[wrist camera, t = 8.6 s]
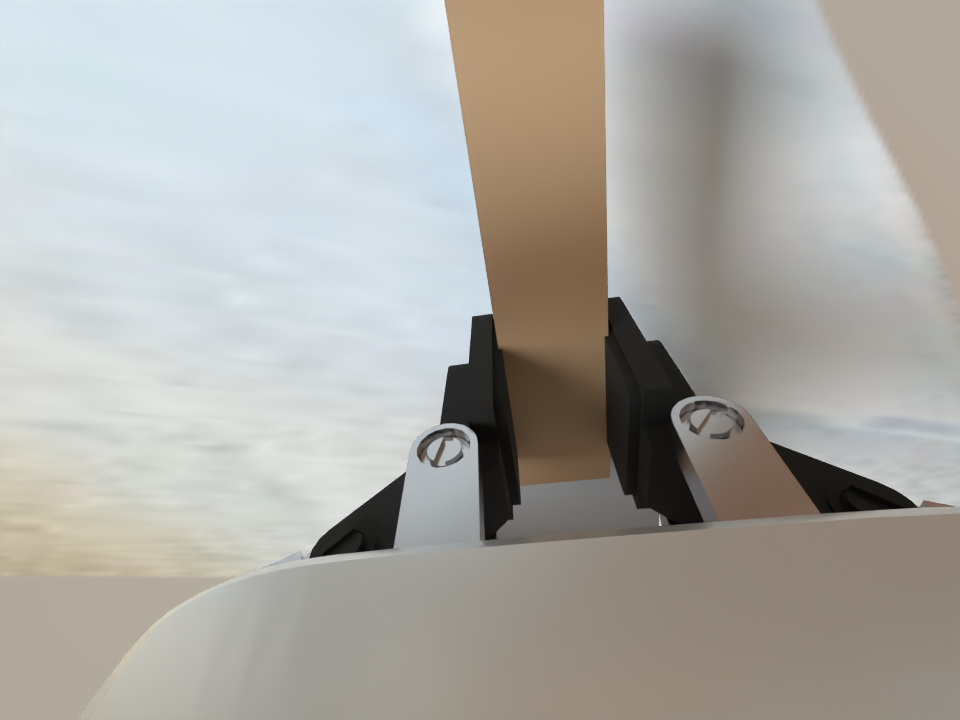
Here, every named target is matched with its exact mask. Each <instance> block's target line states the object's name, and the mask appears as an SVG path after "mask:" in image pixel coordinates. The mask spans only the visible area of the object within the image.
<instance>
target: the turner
mask: <svg viewBox="0 0 960 720" xmlns="http://www.w3.org/2000/svg"><path fill="white" fill-rule="evenodd" d="M445 7H446V13H447V20H448V26H449V33H450V39H451V46H452V52H453V59H454V65H455V71H456V78H457V84H458V91H459V97H460V104H461V110H462V117H463V123H464V130H465V136H466V143H467V149H468V155H469V162H470V168H471V175H472V181H473V188H474V194H475V201H476V207H477V214H478V220H479V227H480V233H481V239H482V246H483V252H484V259H485V265H486V272H487V278H488V285H489V291H490V298H491V304H492V311H493V317H494V323H495V330H496V336H497V343H498V349H499V350H500V349H502V353H503V360H504V366H505V373H506V380H507V386H508V393H509V399H510V406H511V412H512V419H513V426H514V432H515V439H516V445H517V453H518V466H519V480H520V493H521V505H513V517H514V520H508V521H507V522H506V523H505V524H504V525H503V526H502V527H501V528H500V529H499V530H498V535H499V539H507V538H519V537H531V536H543V535H555V534H567V533H580V532H592V531H604V530H617V529H629V528H642V527H654V526H659V513H658V512H656V511H654V510H652V509H650V508H646V509H637V508H636V505H635V502H634V499H633V496H632V495H624V493H623V490H622V487H621V484H620V481H619V478H618V475H617V472H616V469H615V466H614V463H613V459H612V456H611V453H610V450H609V447H608V444H607V429H606V381H605V336H608V276H607V207H606V139H605V70H604V1H603V0H445Z"/></svg>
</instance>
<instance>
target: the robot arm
mask: <svg viewBox="0 0 960 720" xmlns="http://www.w3.org/2000/svg"><path fill="white" fill-rule="evenodd" d="M605 381H606V429H607V444H608V447H609V450H610V453H611V456H612V459H613V463H614V466H615V469H616V472H617V475H618V478H619V481H620V484H621V487H622V490H623V493H624V495H632V496H633V499H634V502H635V505H636V508H637V509H646V508H650V509H652V510H654V511H656V512H658V513H659V514H660V519H661V525H662V526H654V527H642V528H629V529H617V530H604V531H592V532H580V533H567V534H555V535H543V536H531V537H519V538H507V539H499V535H498V530H499V529H500V528H501V527H502V526H503V525H504V524H505V523H506V522H507V521H508V520H514V517H513V505H521V493H520V480H519V466H518V453H517V445H516V439H515V432H514V426H513V419H512V412H511V406H510V399H509V393H508V386H507V380H506V373H505V366H504V360H503V353H502V349H500V350H499V349H498V343H497V336H496V330H495V323H494V319H493V315H492V314H488V315H481V316H473V317H472V328H471V341H470V355H469V364H461V365H453V366H449V368H448V373H447V380H446V387H445V394H444V401H443V408H442V415H441V422H440V425H438V426H434V427H432V428H430V429H428V430H426V431H425V432H423V433H422V434H421V435H419V436H418V437H417V438H416V440H415V441H414V442H413V443H412V446H411V449H410V452H409V458H408V464H407V470H406V472H405V473H404V474H402V475H401V476H400V477H398V478H397V479H396V480H395V481H393V482H392V483H391V484H389V485H388V486H387V487H385V488H384V489H383V490H381V491H380V492H379V493H377V494H376V495H375V496H373V497H372V498H371V499H370V500H368V501H367V502H366V503H364V504H363V505H362V506H360V507H359V508H358V509H356V510H355V511H354V512H352V513H351V514H350V515H348V516H347V517H346V518H345V519H343V520H342V521H341V522H339V523H338V524H337V525H335V526H334V527H333V528H331V529H330V530H329V531H328V532H327V533H326V534H324V535H323V536H322V537H321V538H320V539H319V541H318V542H317V543H316V545H315V546H314V548H313V549H312V552H311V553H309V554H307V555H305V556H303V555H302V553H301V552H300V551H299V552H297V553H295V554H293V555H291V556H288V557H286V558H284V559H282V560H279V561H277V562H275V563H273V564H271V565H268V566H266V567H264V568H262V569H259V570H256V571H253V572H250V573H247V574H243V575H240V576H237V577H235V578H232V579H230V580H228V581H226V582H223V583H221V584H219V585H216V586H214V587H212V588H209V589H207V590H205V591H203V592H201V593H199V594H197V595H195V596H193V597H192V598H190V599H188V600H186V601H185V602H183V603H181V604H180V605H178V606H177V607H175V608H173V609H172V610H170V611H169V612H168V613H166V614H165V615H164V616H163V617H161V618H160V619H159V620H158V621H156V622H155V623H154V624H153V625H152V626H151V627H150V628H149V629H148V630H147V631H146V632H145V633H144V634H143V635H142V636H141V637H140V638H139V640H138V641H137V642H136V643H135V644H134V646H133V647H132V648H131V649H130V650H129V651H128V652H127V654H126V655H125V656H124V657H123V659H122V660H121V661H120V662H119V664H118V665H117V666H116V668H115V669H114V670H113V671H112V673H111V674H110V676H109V677H108V679H107V680H106V681H105V683H104V684H103V685H102V687H101V688H100V689H99V691H98V692H97V694H96V695H95V697H94V698H93V699H92V701H91V702H90V703H89V705H88V706H87V707H86V709H85V711H84V712H83V713H82V715H81V716H80V718H79V719H78V720H960V507H955V506H950V505H945V504H940V503H935V502H930V501H925V500H924V501H923V502H922V504H921V506H920V507H919V506H916V505H915V504H914V503H913V502H912V501H911V500H909V499H908V498H906V497H905V496H903V495H902V494H900V493H899V492H897V491H896V490H894V489H891V488H889V487H887V486H885V485H883V484H881V483H878V482H876V481H873V480H870V479H868V478H865V477H862V476H860V475H857V474H854V473H852V472H849V471H846V470H844V469H841V468H838V467H836V466H833V465H830V464H828V463H825V462H823V461H820V460H817V459H815V458H812V457H809V456H807V455H804V454H801V453H799V452H796V451H793V450H791V449H788V448H785V447H783V446H780V445H777V444H775V443H772V442H769V440H768V439H767V438H766V436H765V435H764V433H763V432H762V431H761V429H760V428H759V426H758V425H757V423H756V422H755V421H754V419H753V418H752V416H751V415H750V414H749V413H748V412H747V411H746V410H745V409H744V408H742V407H741V406H739V405H737V404H736V403H734V402H731V401H728V400H726V399H723V398H718V397H713V396H696V395H695V394H694V392H693V391H692V389H691V387H690V386H689V384H688V383H687V381H686V380H685V378H684V377H683V375H682V374H681V372H680V371H679V369H678V368H677V366H676V365H675V363H674V361H673V360H672V358H671V357H670V355H669V354H668V352H667V351H666V349H665V348H664V346H663V345H662V343H661V342H660V341H658V340H654V341H646V340H645V338H644V336H643V335H642V333H641V331H640V330H639V328H638V326H637V325H636V323H635V321H634V320H633V318H632V316H631V315H630V313H629V311H628V310H627V308H626V306H625V305H624V303H623V301H622V300H621V298H620V297H613V298H608V336H605Z"/></svg>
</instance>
